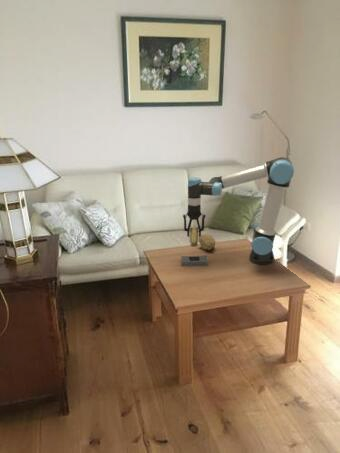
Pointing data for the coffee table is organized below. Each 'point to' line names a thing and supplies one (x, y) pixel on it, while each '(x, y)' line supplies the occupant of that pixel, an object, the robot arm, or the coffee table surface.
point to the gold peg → (194, 236)
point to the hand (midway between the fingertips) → (193, 241)
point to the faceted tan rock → (207, 241)
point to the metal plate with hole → (194, 260)
